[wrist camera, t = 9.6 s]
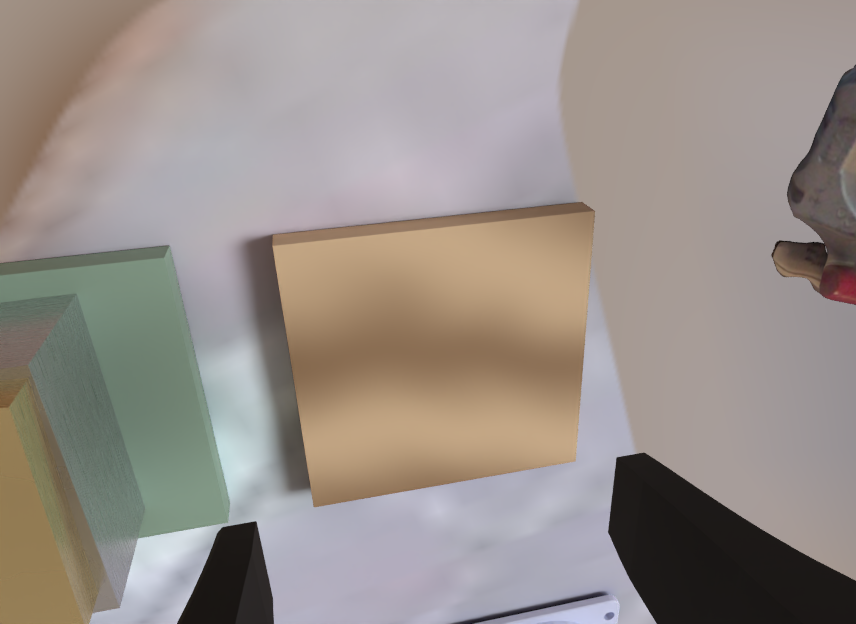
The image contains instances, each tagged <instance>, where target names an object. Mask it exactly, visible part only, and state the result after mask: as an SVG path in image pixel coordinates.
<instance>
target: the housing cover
mask: <svg viewBox="0 0 856 624" xmlns="http://www.w3.org/2000/svg"><path fill="white" fill-rule="evenodd" d="M97 596H98V592H97V589H96V586H95V583H94V580H93V576H92V573H91V570H90V567H89V564H88V561H87V558H86V555H85V552H84V549H83V546H82V542H81V539H80V536H79V533H78V530H77V527H76V524H75V521H74V518H73V515H72V512H71V508H70V505H69V502H68V499H67V496H66V493H65V490H64V487H63V484H62V481H61V478H60V474H59V471H58V468H57V465H56V462H55V459H54V456H53V453H52V450H51V447H50V444H49V440H48V437H47V434H46V431H45V428H44V425H43V422H42V419H41V416H40V413H39V410H38V406H37V403H36V400H35V397H34V394H33V391H32V388H31V385H30V382H29V379H28V378H23V379H13V380H3V381H0V624H89V622H90V619H91V616H92V613H93V609H94V606H95V603H96V599H97Z"/></svg>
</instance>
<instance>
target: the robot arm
mask: <svg viewBox="0 0 856 624" xmlns="http://www.w3.org/2000/svg"><path fill="white" fill-rule="evenodd" d="M608 533H609V535H610V537H611V540H612V542H613V544H614V546H615V549H616V551H617V553H618V555H619V558H620V560H621V562H622V564H623V566H624V568H625V570H626V572H627V574H628V576H629V579H630V580H631V582H632V584H633V585H634V587H635V589H636V590H637V592H638V594H639V595H640V597H641V598H642V600H643V602H644V603H645V605H646V607H647V608H648V610H649V612H650V613H651V615H652V616H653V618H654V620H655V621H656V623H657V624H856V581H855V580H853V579H851V578H849V577H847V576H845V575H843V574H841V573H840V572H837V571H835V570H833V569H831V568H829V567H828V566H826V565H824V564H822V563H820V562H818V561H816V560H814V559H812V558H810V557H809V556H807V555H805V554H803V553H801V552H799V551H798V550H796V549H794V548H792V547H791V546H789V545H787V544H786V543H784V542H782V541H780V540H779V539H777V538H775V537H774V536H772V535H770V534H768V533H767V532H765V531H763V530H762V529H760V528H758V527H757V526H755V525H753V524H752V523H750V522H749V521H747V520H746V519H744V518H742V517H741V516H739V515H737V514H736V513H735V512H733V511H731V510H730V509H728V508H727V507H725V506H724V505H722V504H721V503H719V502H718V501H716V500H714V499H713V498H712V497H710V496H709V495H707V494H706V493H704V492H703V491H701V490H700V489H698V488H697V487H695V486H694V485H692V484H691V483H689V482H688V481H686V480H685V479H683V478H682V477H680V476H679V475H677V474H676V473H675V472H673V471H672V470H670V469H669V468H667V467H666V466H664V465H663V464H661V463H660V462H658V461H656V460H655V459H653V458H652V457H650V456H649V455H647V454H646V453H639V454H634V455H628V456H622V457H617V459H616V468H615V477H614V486H613V494H612V503H611V512H610V521H609V530H608ZM619 606H620V605H619V602H618V600H617V598H616V597H615V596H613V595H605V596H600V597H595V598H591V599H586V600H581V601H577V602H572V603H567V604H563V605H558V606H553V607H549V608H544V609H539V610H535V611H530V612H525V613H521V614H516V615H511V616H507V617H502V618H497V619H493V620H488V621H483V622H479V623H474V624H617V621H618V614H619ZM177 624H274V618H273V597H272V592H271V588H270V583H269V578H268V574H267V569H266V564H265V560H264V555H263V550H262V546H261V541H260V536H259V532H258V527H257V522H256V521H255V522H250V523H244V524H238V525H233V526H227V527H222V529H221V530H220V531H219V532H218V533H217V536H216V538H215V541H214V544H213V547H212V549H211V552H210V554H209V557H208V559H207V561H206V564H205V566H204V568H203V571H202V573H201V575H200V577H199V580H198V582H197V584H196V586H195V588H194V591H193V593H192V595H191V597H190V599H189V601H188V603H187V605H186V607H185V609H184V611H183V613H182V615H181V617H180V619H179V621H178V623H177Z"/></svg>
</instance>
